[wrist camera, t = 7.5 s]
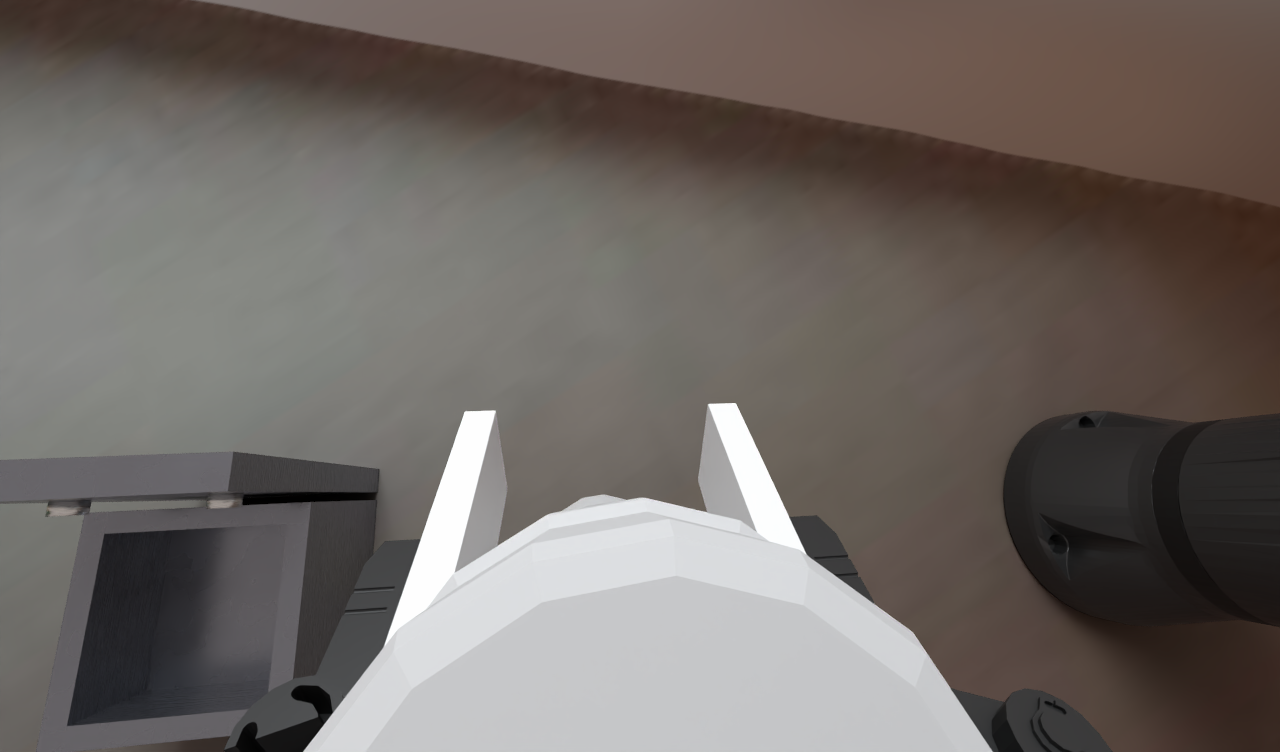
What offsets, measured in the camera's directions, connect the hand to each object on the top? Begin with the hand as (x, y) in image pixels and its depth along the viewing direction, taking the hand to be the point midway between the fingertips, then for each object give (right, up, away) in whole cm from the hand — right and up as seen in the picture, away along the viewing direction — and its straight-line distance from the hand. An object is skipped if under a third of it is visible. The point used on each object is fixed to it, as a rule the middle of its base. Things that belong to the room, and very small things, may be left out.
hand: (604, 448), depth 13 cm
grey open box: (-21, -11, +17) cm, 29 cm away
